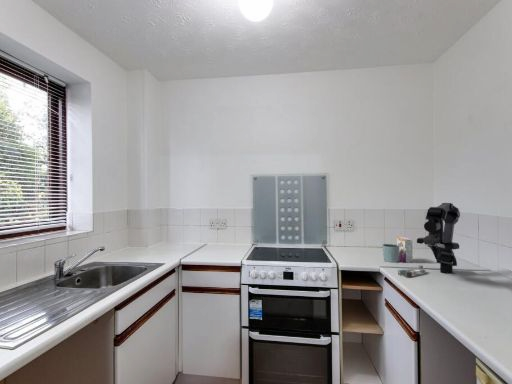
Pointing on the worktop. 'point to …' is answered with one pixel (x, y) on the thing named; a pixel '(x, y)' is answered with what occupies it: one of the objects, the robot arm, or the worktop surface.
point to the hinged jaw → (401, 272)
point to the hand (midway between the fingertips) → (436, 258)
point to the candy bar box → (405, 249)
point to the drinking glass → (390, 253)
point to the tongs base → (414, 272)
